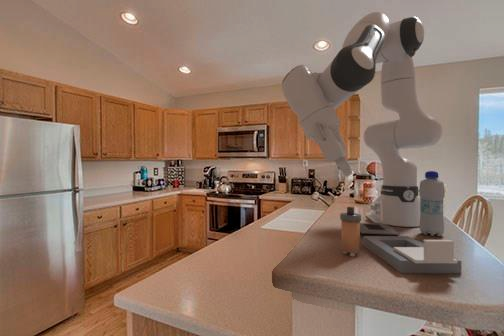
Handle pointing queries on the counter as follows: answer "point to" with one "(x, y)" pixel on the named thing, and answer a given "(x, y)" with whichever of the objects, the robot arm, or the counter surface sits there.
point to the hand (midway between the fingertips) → (349, 175)
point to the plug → (350, 232)
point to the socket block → (386, 252)
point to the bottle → (431, 204)
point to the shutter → (430, 252)
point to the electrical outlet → (377, 230)
